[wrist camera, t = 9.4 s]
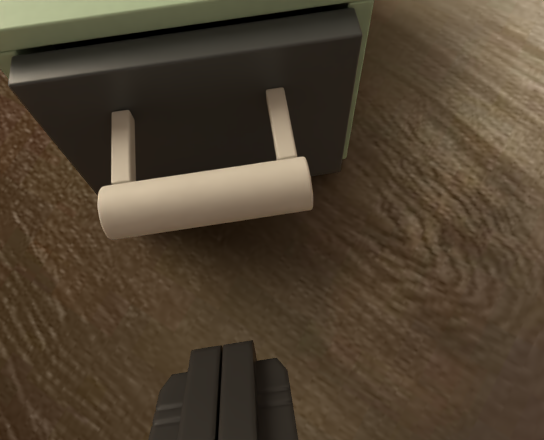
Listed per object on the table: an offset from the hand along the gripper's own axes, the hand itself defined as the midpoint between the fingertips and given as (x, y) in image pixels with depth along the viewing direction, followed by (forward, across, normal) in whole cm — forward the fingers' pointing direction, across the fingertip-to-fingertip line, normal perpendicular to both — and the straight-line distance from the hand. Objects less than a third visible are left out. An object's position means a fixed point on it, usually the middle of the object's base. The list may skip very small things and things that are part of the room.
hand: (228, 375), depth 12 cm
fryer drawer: (+13, 0, -5) cm, 14 cm away
